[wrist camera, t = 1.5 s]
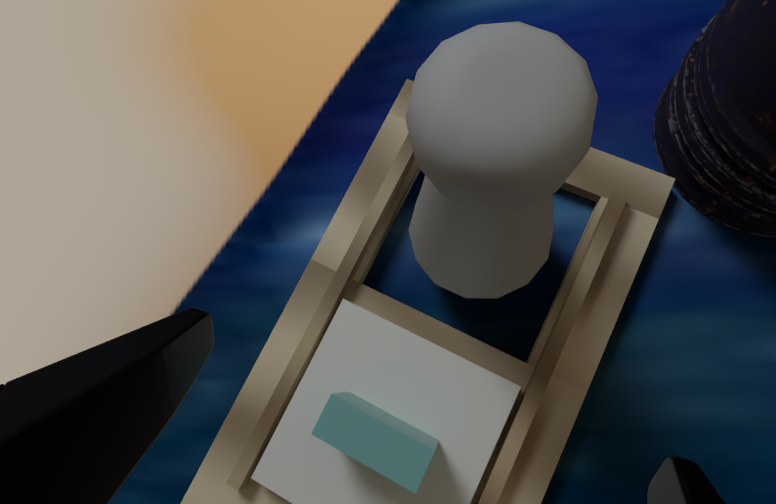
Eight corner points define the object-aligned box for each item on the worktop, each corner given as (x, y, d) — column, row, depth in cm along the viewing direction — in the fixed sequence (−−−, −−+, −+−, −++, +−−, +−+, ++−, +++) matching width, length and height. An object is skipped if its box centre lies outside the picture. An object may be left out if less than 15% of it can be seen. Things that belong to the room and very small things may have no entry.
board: (401, 825, 18) (396, 865, 17) (125, 620, 21) (99, 639, 20) (668, 185, 23) (683, 171, 21) (408, 88, 26) (405, 69, 24)
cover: (433, 579, 19) (427, 628, 16) (260, 473, 21) (216, 494, 17) (518, 386, 21) (531, 388, 17) (347, 302, 22) (325, 286, 19)
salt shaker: (393, 272, 23) (318, 150, 11) (446, 167, 24) (435, -58, 12) (511, 329, 22) (582, 264, 10) (564, 215, 23) (690, 20, 10)
